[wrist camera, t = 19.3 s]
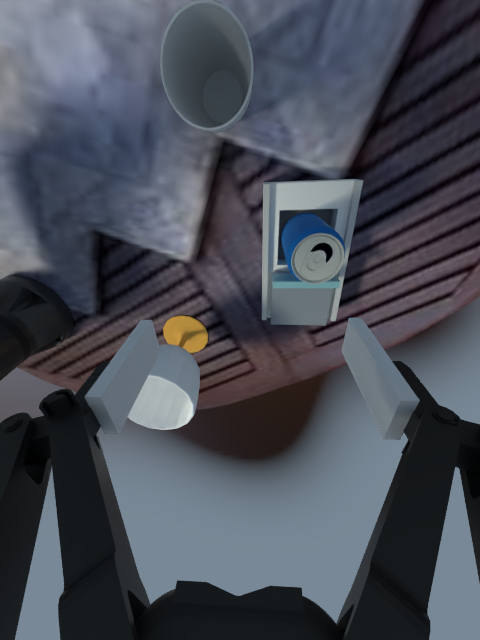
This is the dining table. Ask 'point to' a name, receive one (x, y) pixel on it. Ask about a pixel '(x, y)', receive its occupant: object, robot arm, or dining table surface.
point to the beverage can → (312, 248)
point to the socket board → (314, 197)
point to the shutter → (300, 300)
